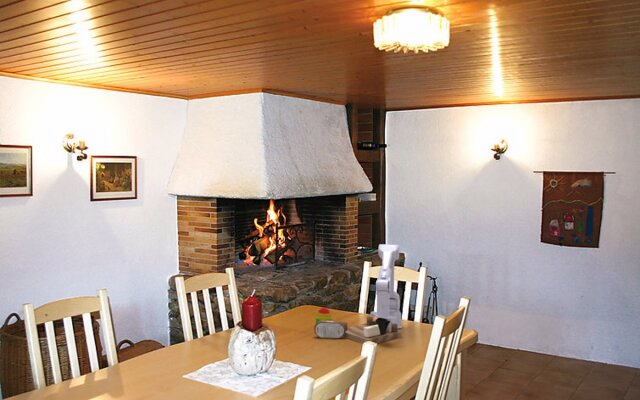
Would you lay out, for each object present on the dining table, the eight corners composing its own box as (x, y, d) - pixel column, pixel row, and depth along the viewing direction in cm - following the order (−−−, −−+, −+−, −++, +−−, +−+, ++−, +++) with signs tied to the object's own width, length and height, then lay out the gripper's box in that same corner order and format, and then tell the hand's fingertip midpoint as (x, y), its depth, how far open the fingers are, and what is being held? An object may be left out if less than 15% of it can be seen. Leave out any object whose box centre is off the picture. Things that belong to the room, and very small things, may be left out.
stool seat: (369, 327, 299) (369, 315, 299) (401, 337, 282) (401, 324, 282) (336, 334, 285) (337, 322, 285) (368, 345, 268) (368, 332, 268)
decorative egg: (312, 327, 298) (312, 308, 298) (321, 324, 305) (321, 305, 305) (326, 330, 294) (326, 310, 293) (334, 326, 301) (334, 307, 300)
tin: (345, 337, 281) (346, 320, 280) (345, 339, 278) (345, 322, 277) (314, 336, 282) (314, 319, 282) (313, 338, 279) (313, 321, 279)
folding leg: (385, 330, 283) (385, 322, 283) (390, 332, 280) (390, 323, 280) (363, 335, 274) (363, 327, 273) (368, 337, 271) (368, 328, 271)
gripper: (365, 303, 273) (365, 332, 274) (388, 309, 262) (388, 339, 263) (376, 301, 277) (376, 329, 278) (399, 307, 266) (399, 336, 267)
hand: (382, 334), depth 271 cm, fingers closed
